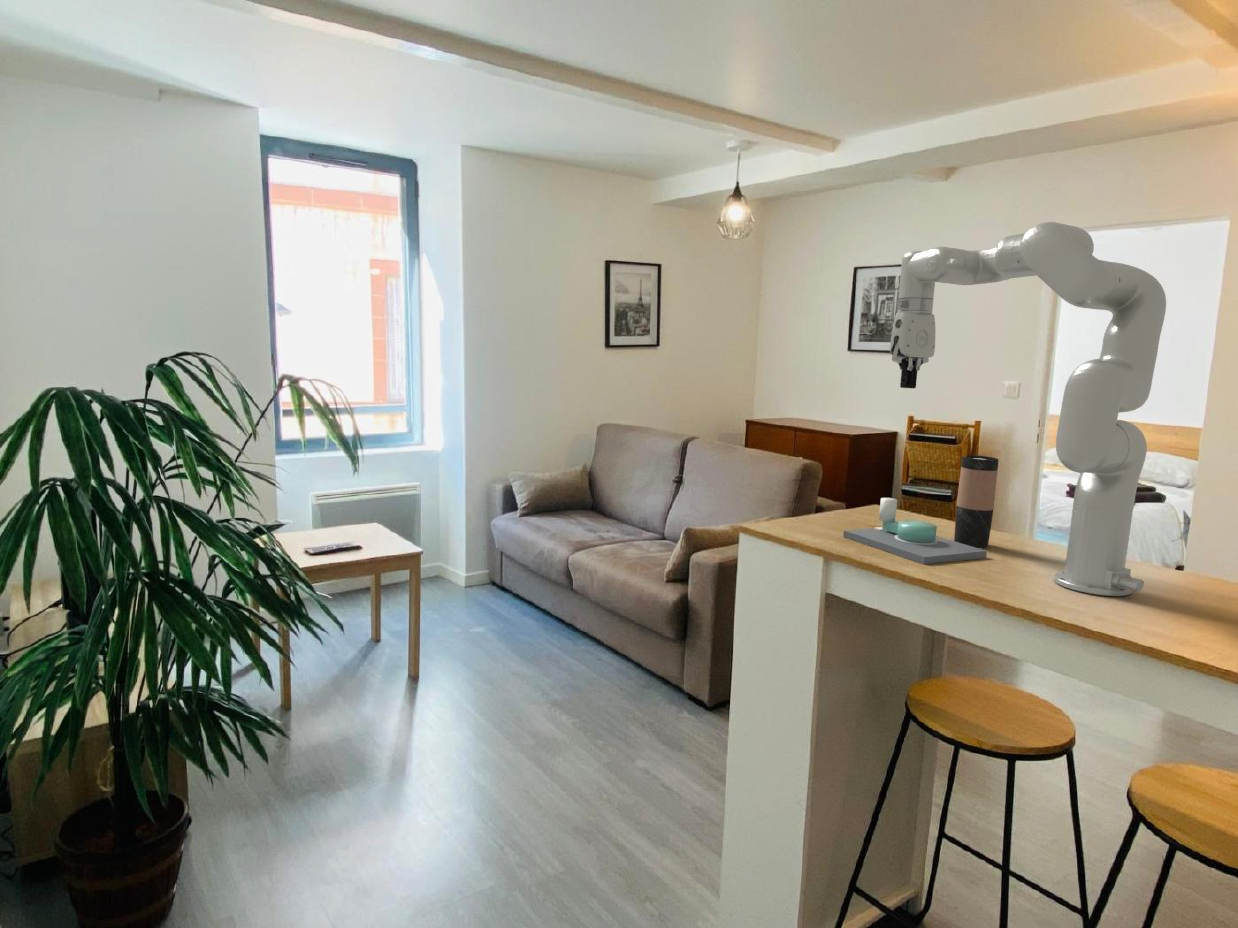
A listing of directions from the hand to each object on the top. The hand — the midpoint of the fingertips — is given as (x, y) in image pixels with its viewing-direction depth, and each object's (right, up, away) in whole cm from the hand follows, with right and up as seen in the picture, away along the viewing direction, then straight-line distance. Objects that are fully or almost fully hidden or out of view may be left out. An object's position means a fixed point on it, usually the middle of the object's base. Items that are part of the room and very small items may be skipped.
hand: (907, 387), depth 181 cm
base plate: (-2, -36, -8) cm, 37 cm away
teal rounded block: (-2, -34, -5) cm, 34 cm away
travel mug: (+13, -36, -3) cm, 39 cm away
